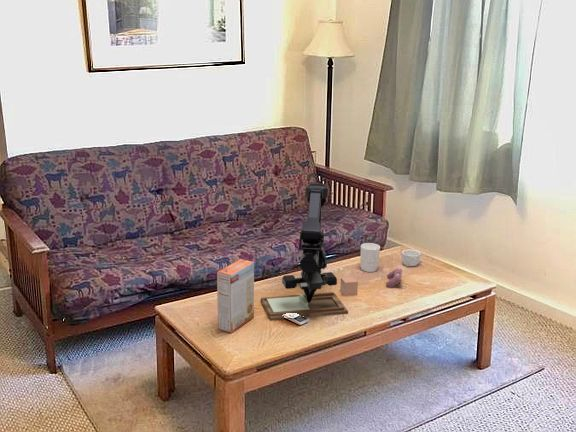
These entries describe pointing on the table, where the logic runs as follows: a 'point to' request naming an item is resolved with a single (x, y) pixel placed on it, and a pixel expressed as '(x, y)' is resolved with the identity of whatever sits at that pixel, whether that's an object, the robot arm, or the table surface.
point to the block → (348, 286)
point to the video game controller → (394, 277)
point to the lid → (288, 304)
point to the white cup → (369, 257)
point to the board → (311, 306)
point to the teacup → (410, 257)
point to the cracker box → (235, 295)
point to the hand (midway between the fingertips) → (308, 302)
